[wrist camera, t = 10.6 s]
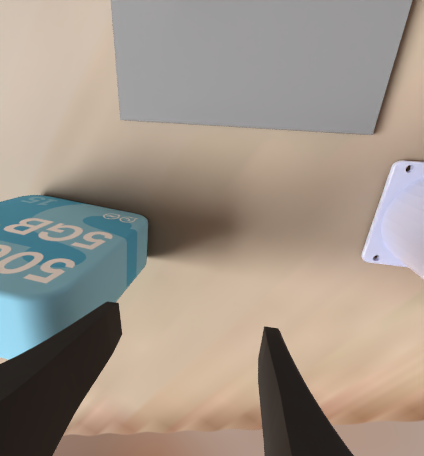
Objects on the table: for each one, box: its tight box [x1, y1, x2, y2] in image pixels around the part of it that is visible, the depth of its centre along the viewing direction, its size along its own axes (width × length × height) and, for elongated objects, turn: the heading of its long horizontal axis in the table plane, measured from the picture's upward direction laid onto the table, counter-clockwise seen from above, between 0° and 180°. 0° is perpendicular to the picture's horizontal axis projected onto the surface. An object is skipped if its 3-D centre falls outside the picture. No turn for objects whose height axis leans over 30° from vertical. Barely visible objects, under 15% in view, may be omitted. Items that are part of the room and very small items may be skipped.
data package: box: [0, 195, 148, 360], centre depth 17 cm, size 12×4×12 cm, turn 82°
